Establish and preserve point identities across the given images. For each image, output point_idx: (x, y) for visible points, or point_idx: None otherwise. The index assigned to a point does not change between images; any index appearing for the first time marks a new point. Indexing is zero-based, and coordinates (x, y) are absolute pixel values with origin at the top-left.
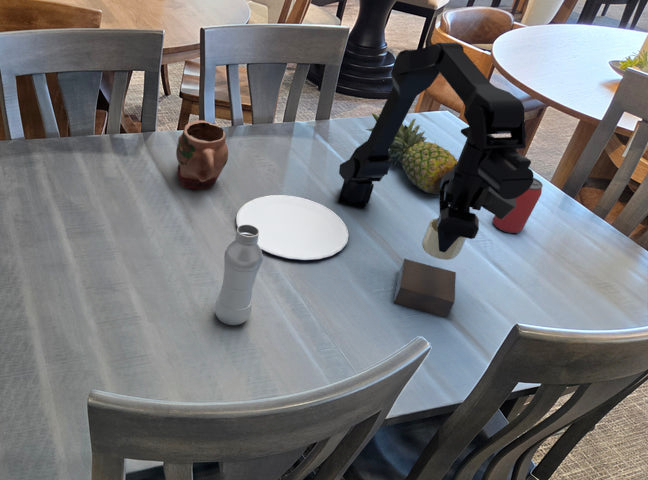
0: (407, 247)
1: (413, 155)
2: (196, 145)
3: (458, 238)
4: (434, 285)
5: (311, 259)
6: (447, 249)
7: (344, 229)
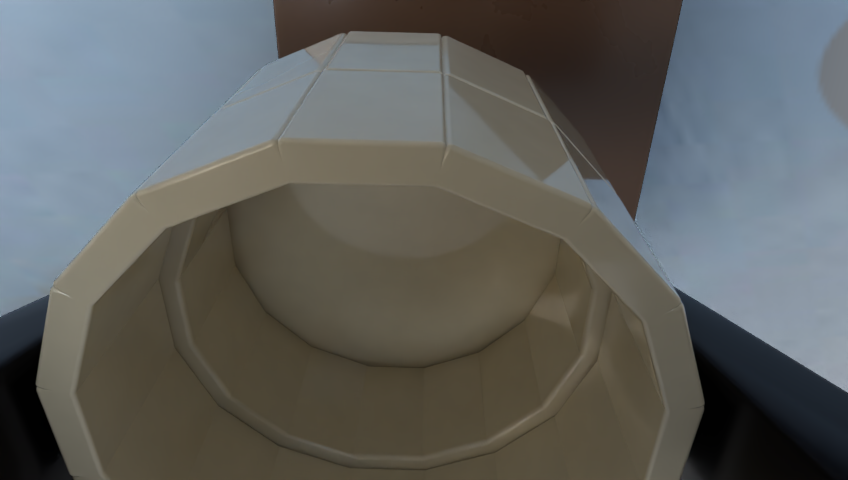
0: (16, 176)
1: None
2: None
3: (672, 320)
4: (528, 71)
5: None
6: (694, 300)
7: None
